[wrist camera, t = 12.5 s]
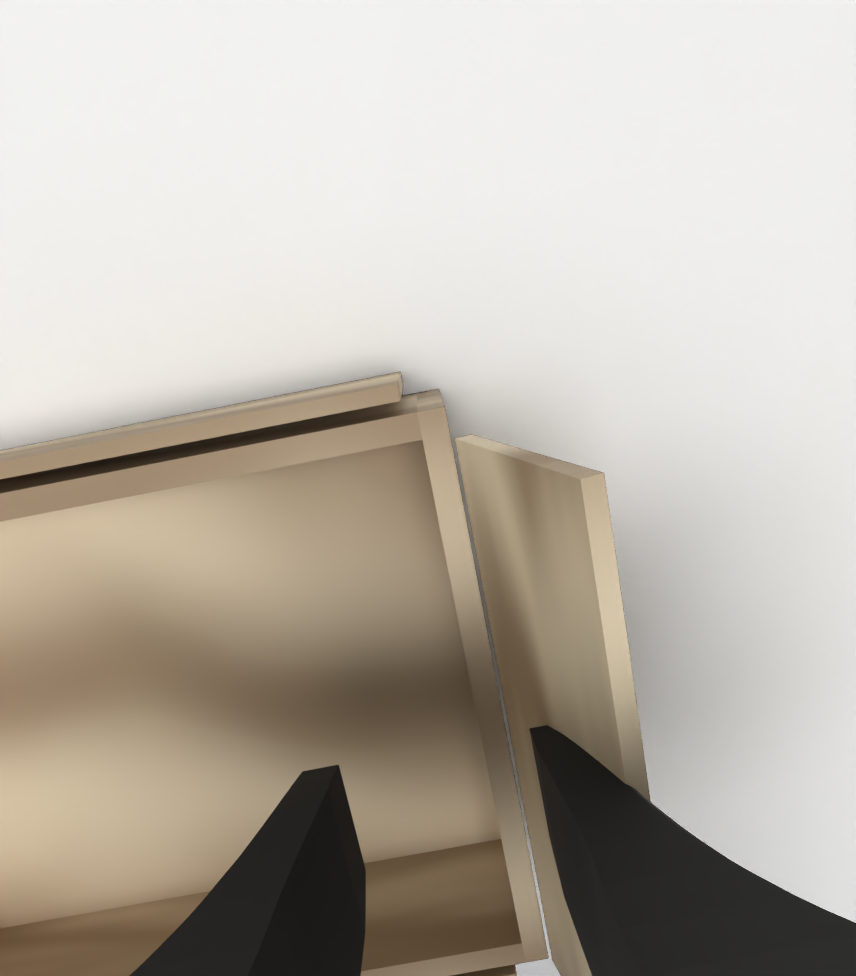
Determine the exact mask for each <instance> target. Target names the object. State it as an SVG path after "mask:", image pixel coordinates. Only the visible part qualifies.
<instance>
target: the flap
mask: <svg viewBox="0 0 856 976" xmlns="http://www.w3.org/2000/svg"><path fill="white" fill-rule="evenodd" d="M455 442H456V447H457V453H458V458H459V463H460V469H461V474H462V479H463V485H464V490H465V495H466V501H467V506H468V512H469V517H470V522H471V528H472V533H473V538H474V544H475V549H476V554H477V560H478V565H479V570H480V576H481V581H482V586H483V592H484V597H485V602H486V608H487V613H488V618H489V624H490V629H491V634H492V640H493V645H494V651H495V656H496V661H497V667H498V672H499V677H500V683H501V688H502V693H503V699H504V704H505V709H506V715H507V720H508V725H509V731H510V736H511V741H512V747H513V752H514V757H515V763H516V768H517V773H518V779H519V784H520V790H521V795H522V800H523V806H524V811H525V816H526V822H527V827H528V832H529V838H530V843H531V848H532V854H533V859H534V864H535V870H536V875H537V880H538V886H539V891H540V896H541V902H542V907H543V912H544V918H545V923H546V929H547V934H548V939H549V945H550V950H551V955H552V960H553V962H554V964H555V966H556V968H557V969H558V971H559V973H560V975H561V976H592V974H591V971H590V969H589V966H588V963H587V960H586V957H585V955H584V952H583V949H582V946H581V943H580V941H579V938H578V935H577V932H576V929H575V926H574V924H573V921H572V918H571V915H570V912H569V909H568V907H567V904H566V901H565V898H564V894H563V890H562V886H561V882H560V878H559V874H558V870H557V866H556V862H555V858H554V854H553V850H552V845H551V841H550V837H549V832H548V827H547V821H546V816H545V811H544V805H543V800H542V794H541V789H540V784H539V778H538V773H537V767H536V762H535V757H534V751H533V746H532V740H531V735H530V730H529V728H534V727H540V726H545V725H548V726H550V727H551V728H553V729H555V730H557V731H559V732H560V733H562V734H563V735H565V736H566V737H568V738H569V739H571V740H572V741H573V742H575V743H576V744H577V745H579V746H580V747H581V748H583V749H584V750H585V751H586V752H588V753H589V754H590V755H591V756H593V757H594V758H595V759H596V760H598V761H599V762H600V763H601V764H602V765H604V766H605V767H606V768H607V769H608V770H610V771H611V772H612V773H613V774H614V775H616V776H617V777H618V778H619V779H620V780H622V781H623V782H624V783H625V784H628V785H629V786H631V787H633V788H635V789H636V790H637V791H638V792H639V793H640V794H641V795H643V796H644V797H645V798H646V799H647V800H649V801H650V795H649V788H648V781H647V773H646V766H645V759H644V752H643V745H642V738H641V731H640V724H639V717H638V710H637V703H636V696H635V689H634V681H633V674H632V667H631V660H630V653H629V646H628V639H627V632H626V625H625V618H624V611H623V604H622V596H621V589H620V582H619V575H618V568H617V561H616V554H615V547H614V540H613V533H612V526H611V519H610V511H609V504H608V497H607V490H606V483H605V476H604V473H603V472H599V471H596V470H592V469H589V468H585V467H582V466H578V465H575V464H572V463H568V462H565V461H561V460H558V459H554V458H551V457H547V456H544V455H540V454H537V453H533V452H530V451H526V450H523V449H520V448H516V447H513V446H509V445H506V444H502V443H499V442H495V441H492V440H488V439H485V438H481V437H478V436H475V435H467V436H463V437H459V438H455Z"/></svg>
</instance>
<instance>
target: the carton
mask: <svg viewBox="0 0 856 976" xmlns="http://www.w3.org/2000/svg"><path fill="white" fill-rule="evenodd" d="M402 389H403V382H402V377H401V372H397V373H392V374H387V375H381V376H376V377H371V378H366V379H361V380H356V381H351V382H346V383H341V384H336V385H331V386H326V387H320V388H315V389H310V390H305V391H300V392H295V393H290V394H285V395H280V396H275V397H270V398H265V399H260V400H254V401H249V402H244V403H239V404H234V405H229V406H224V407H219V408H214V409H209V410H204V411H199V412H194V413H188V414H183V415H178V416H173V417H168V418H163V419H158V420H153V421H148V422H143V423H138V424H133V425H128V426H122V427H117V428H112V429H107V430H102V431H97V432H92V433H87V434H82V435H77V436H72V437H67V438H62V439H56V440H51V441H46V442H41V443H36V444H31V445H26V446H21V447H16V448H11V449H6V450H1V451H0V976H129V975H130V974H131V973H133V972H134V971H135V970H136V969H137V968H138V967H139V966H140V965H141V964H142V963H143V962H144V961H145V960H146V959H148V957H149V956H150V955H151V954H152V953H153V952H154V951H155V950H156V949H157V948H158V947H159V946H160V945H161V944H162V943H163V942H164V941H165V940H166V939H167V938H168V937H169V936H170V935H171V934H172V933H173V932H174V931H175V930H176V929H177V928H178V927H179V926H180V925H181V924H182V923H183V922H184V921H185V920H186V919H187V917H188V916H189V915H190V914H191V913H192V912H193V911H194V910H195V909H196V908H197V906H198V905H199V904H200V903H201V902H202V901H203V899H204V898H205V897H206V896H207V895H208V893H209V892H210V891H211V890H212V889H213V887H214V886H215V885H216V884H217V883H218V881H219V880H220V879H221V878H222V877H223V875H224V874H225V873H226V872H227V871H228V869H229V868H230V867H231V866H232V865H233V863H234V862H235V861H236V860H237V859H238V857H239V856H240V855H241V854H242V852H243V851H244V850H245V848H246V847H247V846H248V844H249V843H250V842H251V840H252V839H253V838H254V836H255V835H256V834H257V832H258V831H259V830H260V828H261V827H262V826H263V824H264V823H265V822H266V820H267V819H268V818H269V816H270V815H271V813H272V812H273V811H274V809H275V808H276V807H277V805H278V804H279V802H280V801H281V800H282V798H283V797H284V796H285V794H286V793H287V791H288V790H289V789H290V787H291V786H292V785H293V783H294V782H295V780H296V779H297V778H298V777H299V775H300V774H301V773H302V771H307V770H312V769H317V768H323V767H328V766H333V765H339V767H340V771H341V775H342V779H343V783H344V787H345V791H346V795H347V799H348V803H349V807H350V810H351V814H352V818H353V822H354V826H355V830H356V834H357V838H358V842H359V846H360V850H361V853H362V857H363V861H364V865H365V869H366V924H365V941H364V950H363V959H362V967H361V975H360V976H517V974H516V967H515V964H519V963H525V962H531V961H537V960H542V959H548V958H549V957H548V952H547V947H546V941H545V936H544V931H543V925H542V920H541V915H540V910H539V904H538V899H537V894H536V888H535V883H534V878H533V872H532V867H531V862H530V856H529V851H528V846H527V841H526V835H525V830H524V825H523V819H522V814H521V809H520V803H519V798H518V793H517V787H516V782H515V777H514V771H513V766H512V761H511V756H510V750H509V745H508V740H507V734H506V729H505V724H504V718H503V713H502V708H501V702H500V697H499V692H498V687H497V681H496V676H495V671H494V665H493V660H492V655H491V649H490V644H489V639H488V633H487V628H486V623H485V618H484V612H483V607H482V602H481V596H480V591H479V586H478V580H477V575H476V570H475V564H474V559H473V554H472V548H471V543H470V538H469V533H468V527H467V522H466V517H465V511H464V506H463V501H462V495H461V490H460V485H459V479H458V474H457V469H456V464H455V458H454V453H453V448H452V442H451V437H450V432H449V426H448V421H447V416H446V410H445V406H444V403H443V400H442V397H441V394H440V391H439V389H435V390H430V391H425V392H419V393H414V394H409V395H404V396H401V395H402Z"/></svg>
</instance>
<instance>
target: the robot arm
mask: <svg viewBox="0 0 856 976" xmlns="http://www.w3.org/2000/svg"><path fill="white" fill-rule="evenodd" d="M529 730H530V735H531V740H532V746H533V751H534V757H535V762H536V767H537V773H538V778H539V784H540V789H541V794H542V800H543V805H544V811H545V816H546V821H547V827H548V832H549V837H550V841H551V845H552V850H553V854H554V858H555V862H556V866H557V870H558V874H559V878H560V882H561V886H562V890H563V894H564V898H565V901H566V904H567V907H568V909H569V912H570V915H571V918H572V921H573V924H574V926H575V929H576V932H577V935H578V938H579V941H580V943H581V946H582V949H583V952H584V955H585V957H586V960H587V963H588V966H589V969H590V971H591V974H592V976H856V923H854V922H852V921H850V920H847V919H845V918H843V917H840V916H838V915H836V914H834V913H831V912H829V911H827V910H824V909H822V908H820V907H818V906H816V905H814V904H812V903H810V902H807V901H805V900H803V899H801V898H799V897H797V896H795V895H793V894H791V893H789V892H787V891H785V890H783V889H782V888H780V887H778V886H776V885H774V884H772V883H770V882H768V881H767V880H765V879H763V878H761V877H759V876H757V875H755V874H753V873H752V872H750V871H748V870H746V869H745V868H743V867H741V866H739V865H738V864H736V863H734V862H733V861H731V860H729V859H728V858H726V857H725V856H723V855H722V854H720V853H719V852H717V851H716V850H714V849H713V848H711V847H709V846H708V845H706V844H705V843H703V842H702V841H701V840H699V839H698V838H696V837H695V836H694V835H692V834H691V833H689V832H688V831H687V830H685V829H684V828H683V827H681V826H680V825H679V824H677V823H676V822H675V821H673V820H672V819H671V818H670V817H668V816H667V815H666V814H665V813H663V812H662V811H661V810H659V809H658V808H657V807H656V806H654V805H653V804H652V803H651V802H650V801H649V800H647V799H646V798H645V797H644V796H643V795H641V794H640V793H639V792H638V791H637V790H636V789H635V788H633V787H631V786H629V785H628V784H625V783H624V782H623V781H622V780H620V779H619V778H618V777H617V776H616V775H614V774H613V773H612V772H611V771H610V770H608V769H607V768H606V767H605V766H604V765H602V764H601V763H600V762H599V761H598V760H596V759H595V758H594V757H593V756H591V755H590V754H589V753H588V752H586V751H585V750H584V749H583V748H581V747H580V746H579V745H577V744H576V743H575V742H573V741H572V740H571V739H569V738H568V737H566V736H565V735H563V734H562V733H560V732H559V731H557V730H555V729H553V728H551V727H550V726H548V725H545V726H540V727H534V728H529ZM365 924H366V869H365V865H364V861H363V857H362V853H361V850H360V846H359V842H358V838H357V834H356V830H355V826H354V822H353V818H352V814H351V810H350V807H349V803H348V799H347V795H346V791H345V787H344V783H343V779H342V775H341V771H340V767H339V765H333V766H328V767H323V768H317V769H312V770H307V771H302V773H301V774H300V775H299V777H298V778H297V779H296V780H295V782H294V783H293V785H292V786H291V787H290V789H289V790H288V791H287V793H286V794H285V796H284V797H283V798H282V800H281V801H280V802H279V804H278V805H277V807H276V808H275V809H274V811H273V812H272V813H271V815H270V816H269V818H268V819H267V820H266V822H265V823H264V824H263V826H262V827H261V828H260V830H259V831H258V832H257V834H256V835H255V836H254V838H253V839H252V840H251V842H250V843H249V844H248V846H247V847H246V848H245V850H244V851H243V852H242V854H241V855H240V856H239V857H238V859H237V860H236V861H235V862H234V863H233V865H232V866H231V867H230V868H229V869H228V871H227V872H226V873H225V874H224V875H223V877H222V878H221V879H220V880H219V881H218V883H217V884H216V885H215V886H214V887H213V889H212V890H211V891H210V892H209V893H208V895H207V896H206V897H205V898H204V899H203V901H202V902H201V903H200V904H199V905H198V906H197V908H196V909H195V910H194V911H193V912H192V913H191V914H190V915H189V916H188V917H187V919H186V920H185V921H184V922H183V923H182V924H181V925H180V926H179V927H178V928H177V929H176V930H175V931H174V932H173V933H172V934H171V935H170V936H169V937H168V938H167V939H166V940H165V941H164V942H163V943H162V944H161V945H160V946H159V947H158V948H157V949H156V950H155V951H154V952H153V953H152V954H151V955H150V956H149V957H148V959H146V960H145V961H144V962H143V963H142V964H141V965H140V966H139V967H138V968H137V969H136V970H135V971H134V972H133V973H131V974H130V975H129V976H360V975H361V967H362V959H363V950H364V941H365Z"/></svg>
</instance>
